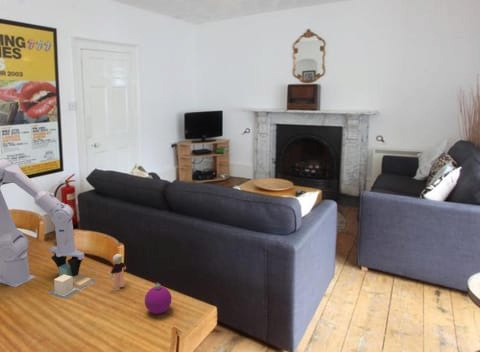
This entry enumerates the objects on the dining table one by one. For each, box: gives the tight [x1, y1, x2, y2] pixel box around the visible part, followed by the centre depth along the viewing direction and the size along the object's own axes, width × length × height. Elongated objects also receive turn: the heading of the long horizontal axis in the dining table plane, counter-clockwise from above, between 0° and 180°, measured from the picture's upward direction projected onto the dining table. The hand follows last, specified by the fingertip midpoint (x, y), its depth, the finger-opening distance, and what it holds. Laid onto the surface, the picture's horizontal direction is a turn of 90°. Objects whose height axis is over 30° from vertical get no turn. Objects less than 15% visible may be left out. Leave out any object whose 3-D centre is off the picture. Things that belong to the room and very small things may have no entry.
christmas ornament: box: [144, 282, 172, 315], centre depth 114 cm, size 8×8×10 cm
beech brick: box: [72, 274, 92, 289], centre depth 129 cm, size 8×5×2 cm, turn 66°
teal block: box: [58, 262, 72, 277], centre depth 133 cm, size 4×4×5 cm
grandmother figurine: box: [109, 253, 127, 292], centre depth 127 cm, size 8×4×13 cm, turn 168°
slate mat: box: [47, 275, 99, 300], centre depth 128 cm, size 9×14×1 cm, turn 156°
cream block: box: [53, 274, 74, 296], centre depth 124 cm, size 4×4×5 cm
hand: (69, 273), depth 134 cm, fingers open, 5 cm apart
